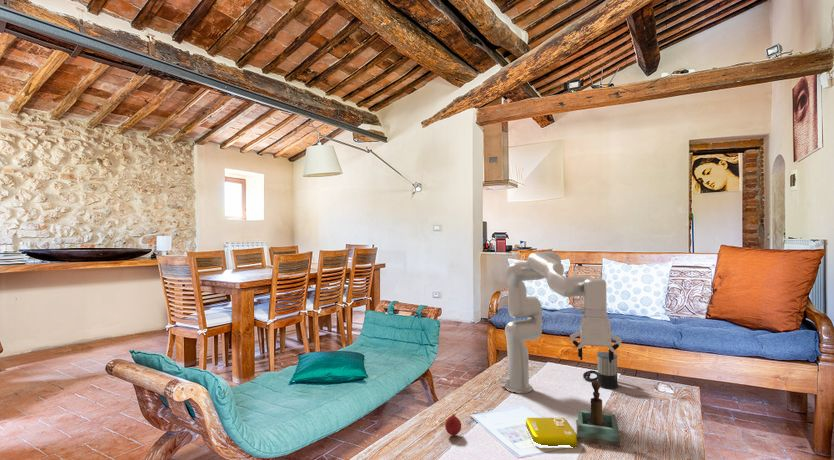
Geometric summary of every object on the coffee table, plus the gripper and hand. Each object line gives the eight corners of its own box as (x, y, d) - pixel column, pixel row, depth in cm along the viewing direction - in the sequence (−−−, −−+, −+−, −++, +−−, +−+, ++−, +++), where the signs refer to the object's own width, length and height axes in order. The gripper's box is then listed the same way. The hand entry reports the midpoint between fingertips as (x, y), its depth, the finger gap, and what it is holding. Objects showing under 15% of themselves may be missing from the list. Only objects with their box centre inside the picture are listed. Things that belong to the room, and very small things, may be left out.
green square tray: (576, 441, 147) (576, 425, 147) (576, 423, 160) (576, 409, 160) (621, 447, 142) (620, 431, 142) (616, 429, 155) (616, 414, 155)
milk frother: (618, 390, 192) (617, 358, 192) (581, 385, 198) (580, 354, 198) (618, 380, 204) (617, 350, 204) (583, 376, 211) (583, 346, 211)
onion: (456, 441, 148) (456, 418, 148) (442, 437, 151) (442, 415, 151) (464, 434, 153) (463, 412, 153) (450, 430, 156) (449, 409, 156)
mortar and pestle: (603, 426, 154) (602, 377, 154) (609, 435, 148) (608, 384, 148) (584, 426, 155) (583, 377, 155) (590, 434, 148) (589, 383, 148)
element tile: (524, 428, 158) (524, 415, 158) (565, 428, 157) (565, 415, 157) (534, 449, 143) (534, 435, 143) (579, 449, 142) (579, 435, 142)
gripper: (569, 313, 151) (570, 361, 151) (622, 316, 145) (623, 366, 145) (569, 309, 158) (570, 355, 158) (620, 312, 152) (620, 359, 152)
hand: (595, 360), depth 151 cm, fingers open, 9 cm apart
